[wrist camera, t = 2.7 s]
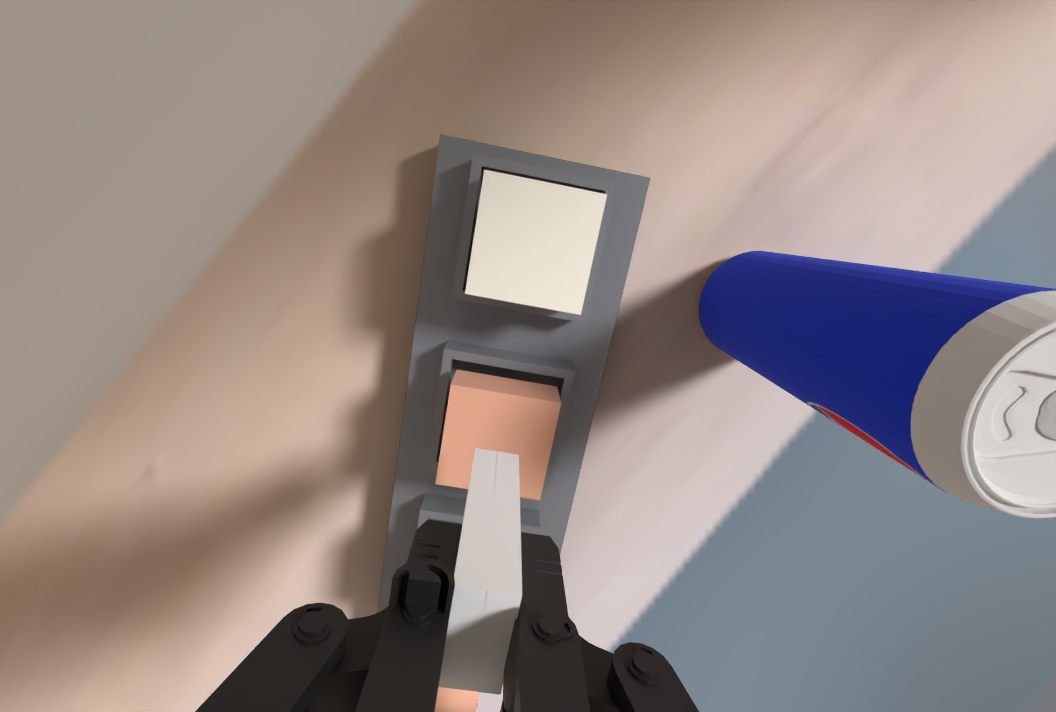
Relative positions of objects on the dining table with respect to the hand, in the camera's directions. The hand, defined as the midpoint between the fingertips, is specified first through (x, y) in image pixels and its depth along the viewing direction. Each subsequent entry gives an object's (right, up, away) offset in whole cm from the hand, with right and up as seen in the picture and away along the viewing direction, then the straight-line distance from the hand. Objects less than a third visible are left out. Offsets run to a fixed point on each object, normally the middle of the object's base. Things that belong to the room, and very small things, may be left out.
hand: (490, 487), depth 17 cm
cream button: (+1, +9, +3) cm, 10 cm away
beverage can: (+12, +7, +8) cm, 16 cm away
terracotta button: (0, +1, +5) cm, 5 cm away
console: (0, +1, +9) cm, 9 cm away
